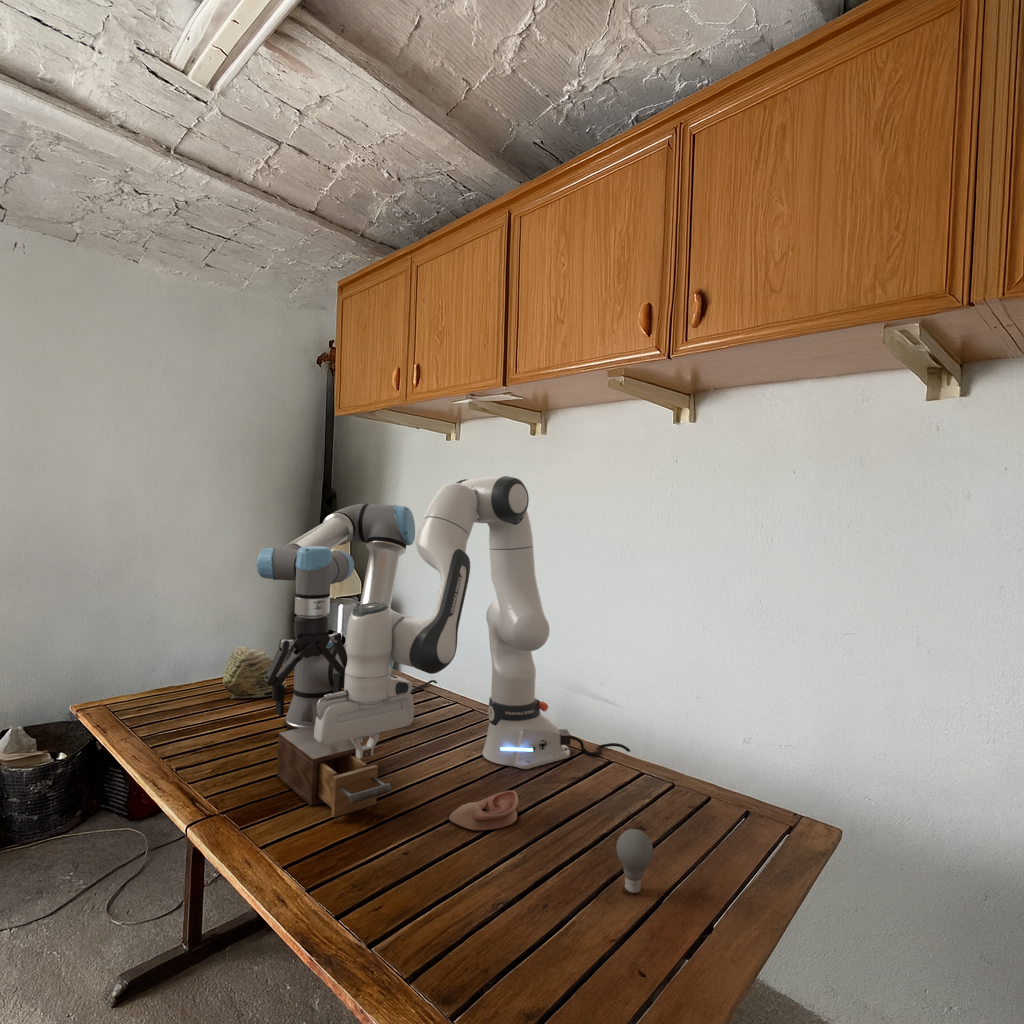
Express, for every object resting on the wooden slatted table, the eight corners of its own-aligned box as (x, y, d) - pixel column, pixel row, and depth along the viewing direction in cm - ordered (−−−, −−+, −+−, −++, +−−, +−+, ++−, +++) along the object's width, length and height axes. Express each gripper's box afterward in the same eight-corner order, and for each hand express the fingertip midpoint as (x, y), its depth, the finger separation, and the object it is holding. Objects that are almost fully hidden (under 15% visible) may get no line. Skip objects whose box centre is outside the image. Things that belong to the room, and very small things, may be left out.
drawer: (392, 815, 125) (394, 776, 125) (349, 830, 119) (350, 790, 119) (338, 775, 142) (340, 741, 142) (298, 787, 136) (299, 751, 135)
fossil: (218, 695, 195) (220, 647, 195) (278, 685, 208) (279, 640, 207) (228, 703, 189) (230, 653, 188) (289, 692, 201) (290, 645, 201)
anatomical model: (444, 806, 124) (461, 780, 135) (443, 826, 124) (460, 799, 135) (511, 815, 121) (522, 789, 132) (510, 836, 121) (521, 808, 132)
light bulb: (610, 879, 108) (613, 822, 108) (644, 879, 109) (647, 822, 109) (619, 902, 102) (622, 840, 102) (655, 901, 103) (658, 840, 103)
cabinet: (358, 792, 137) (359, 747, 136) (311, 806, 130) (313, 759, 129) (321, 764, 150) (322, 723, 150) (276, 775, 143) (278, 732, 142)
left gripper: (262, 624, 132) (259, 725, 132) (369, 612, 148) (366, 702, 149) (249, 617, 137) (247, 714, 138) (354, 607, 154) (351, 693, 155)
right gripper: (324, 700, 115) (321, 776, 115) (419, 682, 129) (416, 750, 129) (309, 691, 120) (306, 764, 120) (402, 675, 133) (399, 740, 133)
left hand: (309, 708), depth 143 cm, fingers open, 13 cm apart
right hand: (364, 756), depth 124 cm, fingers closed
